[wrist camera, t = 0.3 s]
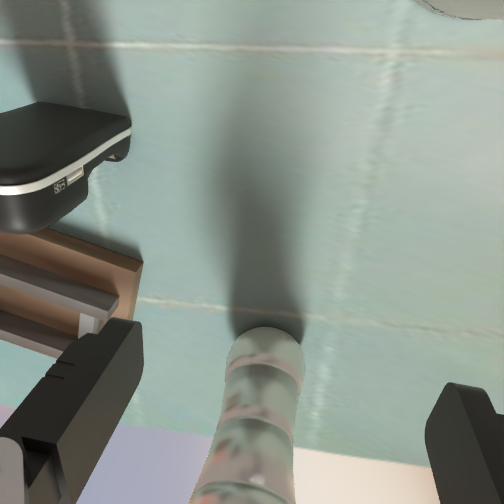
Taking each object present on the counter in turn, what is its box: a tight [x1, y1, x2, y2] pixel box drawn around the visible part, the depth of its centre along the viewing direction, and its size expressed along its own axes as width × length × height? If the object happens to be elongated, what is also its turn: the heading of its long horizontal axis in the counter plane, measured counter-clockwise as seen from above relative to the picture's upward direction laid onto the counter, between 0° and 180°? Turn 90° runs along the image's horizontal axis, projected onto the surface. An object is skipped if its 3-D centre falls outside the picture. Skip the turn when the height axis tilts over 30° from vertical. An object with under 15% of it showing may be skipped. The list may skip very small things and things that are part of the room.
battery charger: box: [0, 102, 131, 234], centre depth 22 cm, size 7×4×11 cm, turn 83°
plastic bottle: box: [189, 327, 305, 504], centre depth 26 cm, size 6×7×20 cm
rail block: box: [0, 228, 143, 359], centre depth 34 cm, size 14×15×4 cm
